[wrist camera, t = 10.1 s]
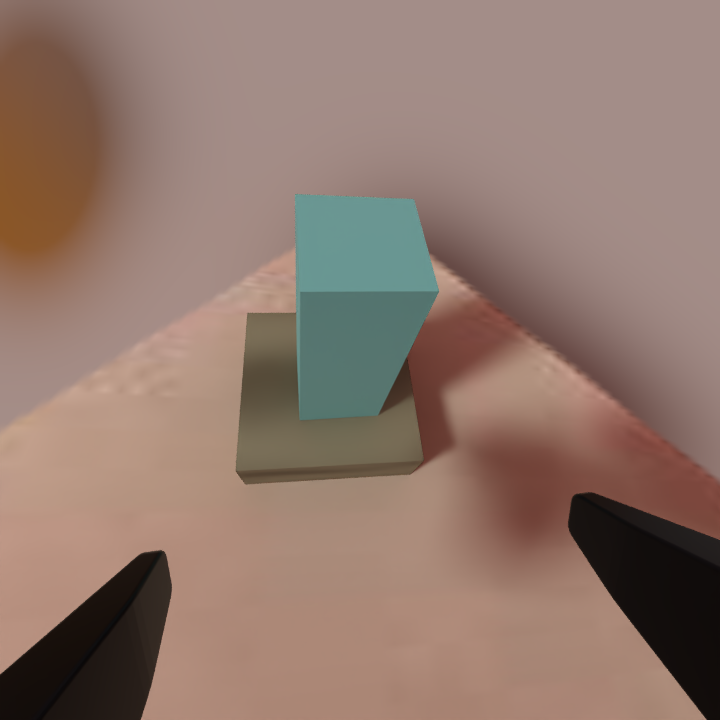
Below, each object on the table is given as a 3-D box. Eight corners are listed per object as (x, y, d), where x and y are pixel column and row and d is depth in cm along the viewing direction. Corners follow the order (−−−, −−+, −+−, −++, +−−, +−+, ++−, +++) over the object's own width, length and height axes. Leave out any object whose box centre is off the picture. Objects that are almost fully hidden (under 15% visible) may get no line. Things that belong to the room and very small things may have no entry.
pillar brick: (377, 415, 20) (439, 291, 11) (299, 420, 19) (300, 291, 10) (367, 349, 22) (413, 199, 13) (296, 351, 21) (295, 194, 12)
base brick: (408, 476, 22) (423, 460, 19) (246, 486, 21) (235, 470, 18) (389, 343, 26) (399, 312, 23) (255, 344, 25) (247, 313, 22)
